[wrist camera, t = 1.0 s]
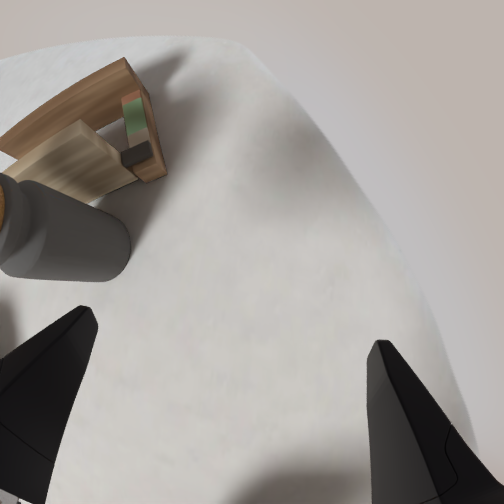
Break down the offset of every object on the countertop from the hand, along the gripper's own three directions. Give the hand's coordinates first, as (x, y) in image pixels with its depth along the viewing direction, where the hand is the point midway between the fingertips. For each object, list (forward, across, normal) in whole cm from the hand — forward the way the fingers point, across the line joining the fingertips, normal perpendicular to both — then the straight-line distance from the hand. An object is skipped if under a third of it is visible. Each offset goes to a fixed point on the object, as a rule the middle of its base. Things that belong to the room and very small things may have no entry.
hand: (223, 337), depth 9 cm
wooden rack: (+18, +17, 0) cm, 25 cm away
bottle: (+13, +13, +7) cm, 20 cm away
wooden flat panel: (+15, +15, +3) cm, 22 cm away
